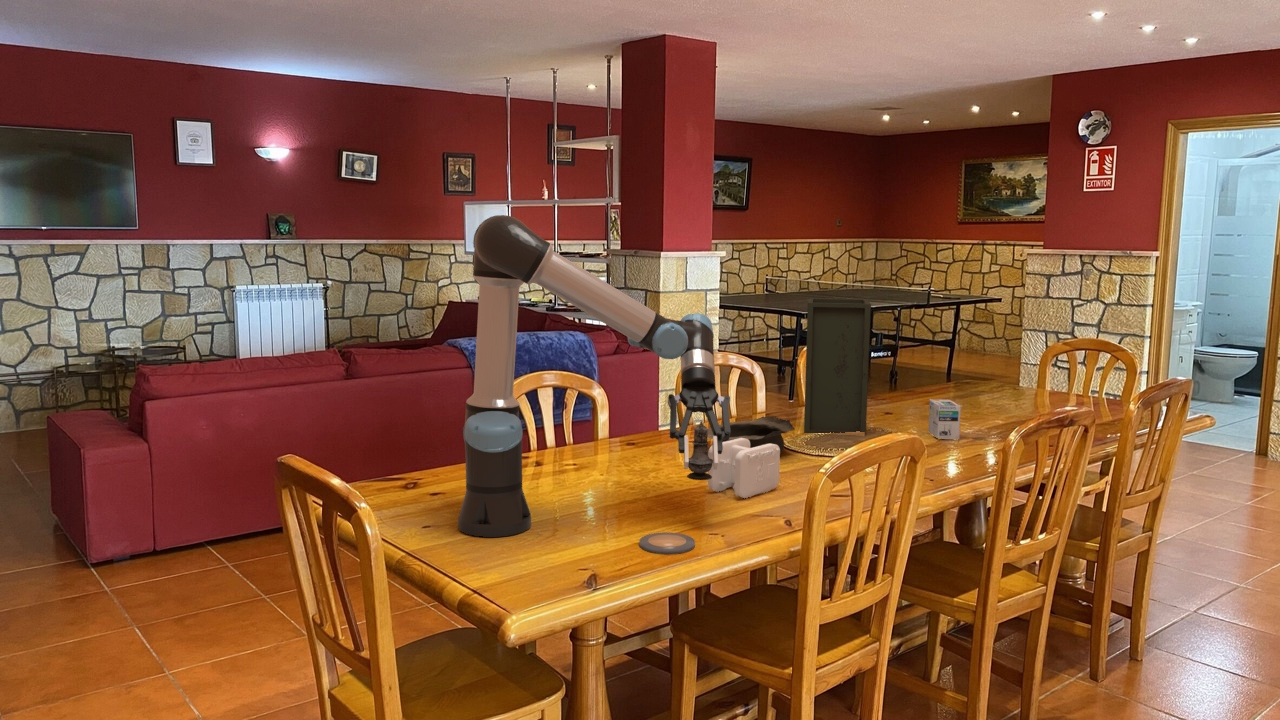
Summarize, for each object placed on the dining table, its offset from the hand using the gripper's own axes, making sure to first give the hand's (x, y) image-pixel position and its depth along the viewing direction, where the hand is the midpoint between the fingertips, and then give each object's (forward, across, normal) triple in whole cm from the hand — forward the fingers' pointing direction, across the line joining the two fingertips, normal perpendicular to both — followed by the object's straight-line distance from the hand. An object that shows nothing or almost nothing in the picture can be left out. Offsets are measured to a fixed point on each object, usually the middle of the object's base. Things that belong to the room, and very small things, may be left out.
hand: (701, 465), depth 201 cm
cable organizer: (-11, -13, -31) cm, 35 cm away
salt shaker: (0, 0, -5) cm, 5 cm away
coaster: (+17, +7, -3) cm, 18 cm away
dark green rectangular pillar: (-63, -50, -81) cm, 114 cm away
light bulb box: (-55, -80, -73) cm, 122 cm away
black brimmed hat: (-40, -19, -59) cm, 73 cm away
